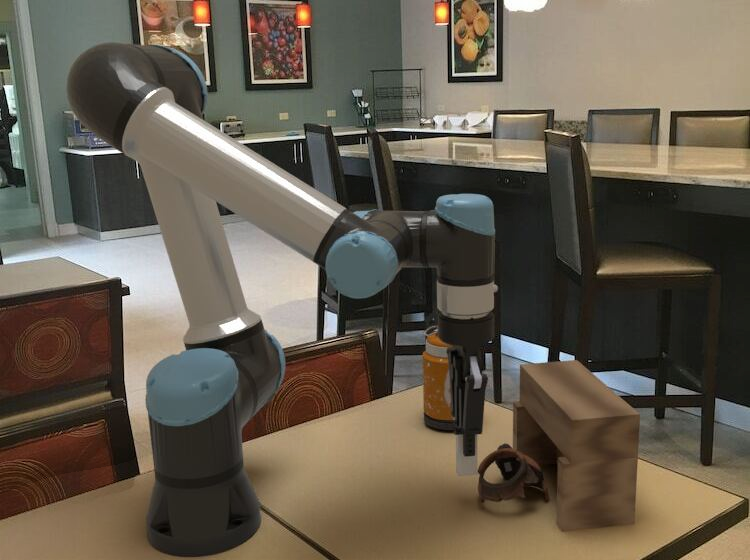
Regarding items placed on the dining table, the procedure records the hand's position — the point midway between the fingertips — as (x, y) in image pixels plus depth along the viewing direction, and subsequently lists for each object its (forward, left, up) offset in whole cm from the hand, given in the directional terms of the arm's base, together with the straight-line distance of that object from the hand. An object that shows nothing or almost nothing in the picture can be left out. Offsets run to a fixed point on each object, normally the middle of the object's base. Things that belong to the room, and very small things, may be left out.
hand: (466, 472), depth 111 cm
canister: (+4, +28, -5) cm, 29 cm away
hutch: (+10, 0, -5) cm, 11 cm away
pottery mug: (+8, +1, -6) cm, 10 cm away
